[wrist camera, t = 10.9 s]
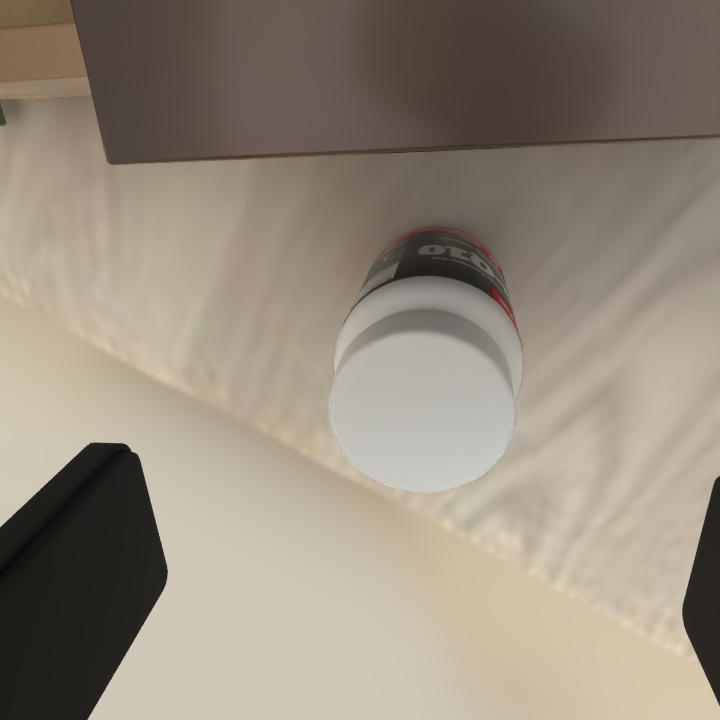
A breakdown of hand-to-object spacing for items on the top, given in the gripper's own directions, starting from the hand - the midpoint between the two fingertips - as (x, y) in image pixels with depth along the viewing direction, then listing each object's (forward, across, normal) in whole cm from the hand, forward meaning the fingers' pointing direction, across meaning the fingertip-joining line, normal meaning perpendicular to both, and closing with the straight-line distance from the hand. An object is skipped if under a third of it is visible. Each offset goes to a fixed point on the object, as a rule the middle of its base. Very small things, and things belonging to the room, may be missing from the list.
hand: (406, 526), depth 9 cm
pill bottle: (+12, 0, 0) cm, 12 cm away
